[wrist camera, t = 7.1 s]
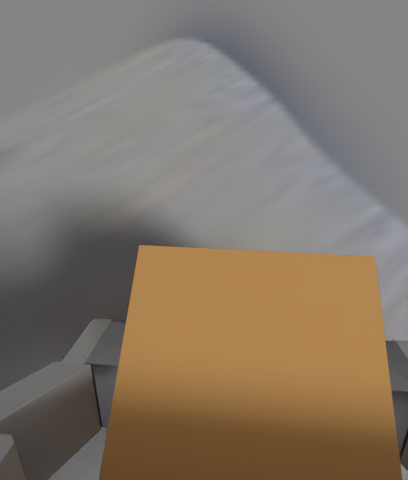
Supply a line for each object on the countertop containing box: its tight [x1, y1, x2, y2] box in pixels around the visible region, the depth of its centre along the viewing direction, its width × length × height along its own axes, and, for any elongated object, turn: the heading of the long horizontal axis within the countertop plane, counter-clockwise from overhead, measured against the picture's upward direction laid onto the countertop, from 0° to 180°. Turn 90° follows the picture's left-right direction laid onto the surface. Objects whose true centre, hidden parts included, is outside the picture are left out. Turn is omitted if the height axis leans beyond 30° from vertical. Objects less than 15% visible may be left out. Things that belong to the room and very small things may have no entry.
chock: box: [99, 245, 402, 480], centre depth 9 cm, size 5×5×8 cm
